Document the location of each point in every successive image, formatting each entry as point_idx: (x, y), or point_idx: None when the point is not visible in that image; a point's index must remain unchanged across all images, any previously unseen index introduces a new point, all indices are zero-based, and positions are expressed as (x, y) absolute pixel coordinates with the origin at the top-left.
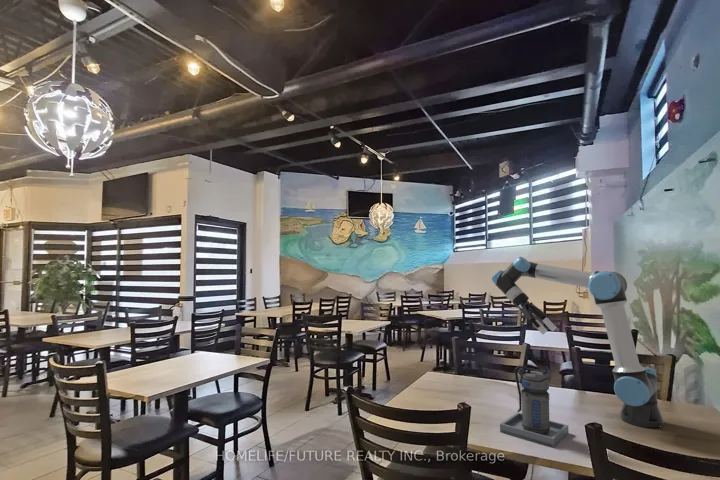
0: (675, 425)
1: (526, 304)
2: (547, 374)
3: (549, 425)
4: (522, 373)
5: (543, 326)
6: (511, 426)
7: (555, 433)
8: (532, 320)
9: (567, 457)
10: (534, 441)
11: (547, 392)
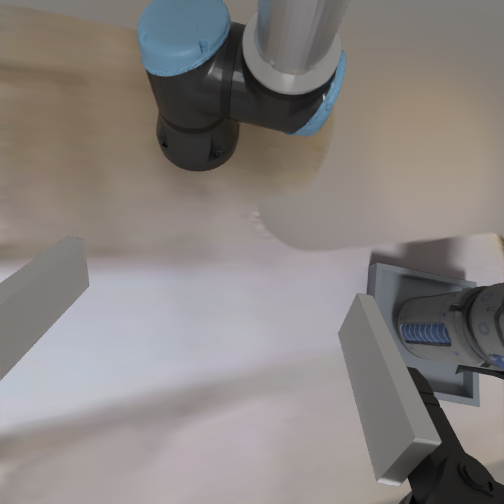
0: None
1: None
2: None
3: (428, 296)
4: None
5: (375, 330)
6: (475, 376)
7: (406, 287)
8: (499, 492)
9: (485, 259)
10: None
11: (480, 291)
